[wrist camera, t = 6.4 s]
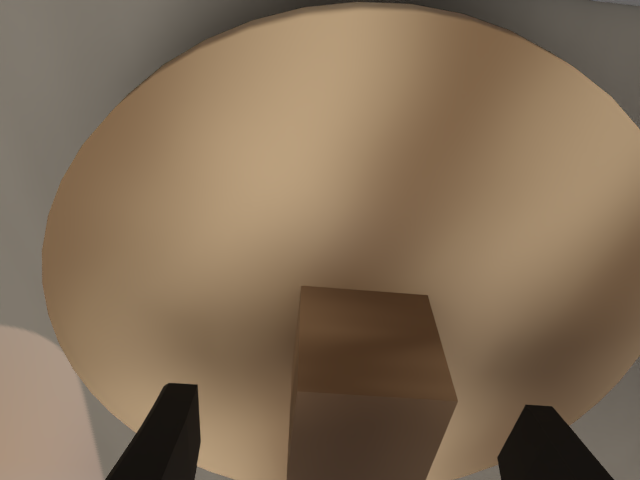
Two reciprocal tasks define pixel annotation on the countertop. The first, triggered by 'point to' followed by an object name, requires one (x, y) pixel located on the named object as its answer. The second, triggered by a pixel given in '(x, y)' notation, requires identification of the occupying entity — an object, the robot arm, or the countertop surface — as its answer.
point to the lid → (353, 243)
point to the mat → (622, 2)
